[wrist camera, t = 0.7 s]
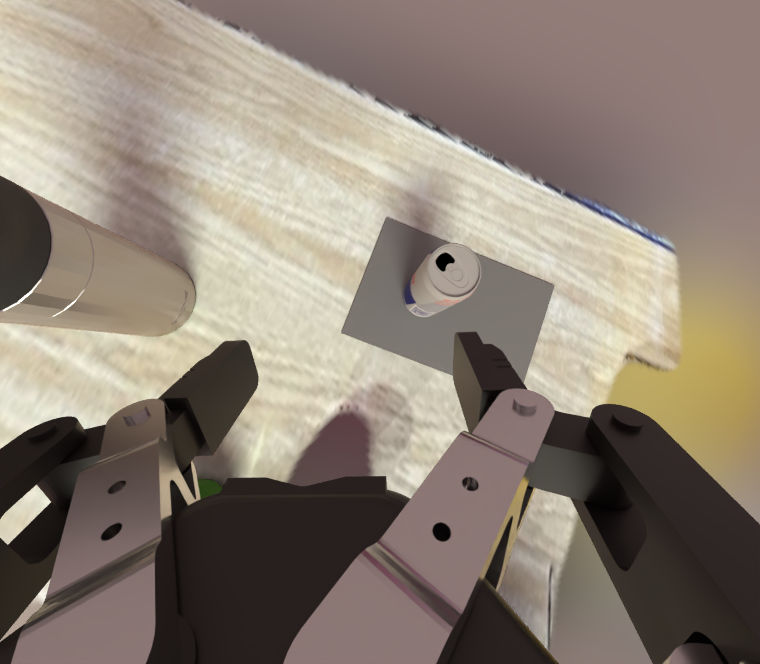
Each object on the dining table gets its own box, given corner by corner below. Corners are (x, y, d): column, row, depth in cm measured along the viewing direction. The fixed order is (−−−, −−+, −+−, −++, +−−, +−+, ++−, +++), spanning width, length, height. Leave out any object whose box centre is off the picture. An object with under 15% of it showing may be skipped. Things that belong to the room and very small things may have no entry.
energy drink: (424, 268, 39) (456, 228, 27) (452, 299, 39) (496, 274, 27) (393, 294, 38) (411, 266, 26) (421, 326, 38) (452, 313, 26)
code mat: (341, 332, 37) (341, 332, 37) (386, 218, 39) (386, 217, 39) (517, 400, 38) (518, 400, 38) (553, 285, 40) (554, 285, 40)
